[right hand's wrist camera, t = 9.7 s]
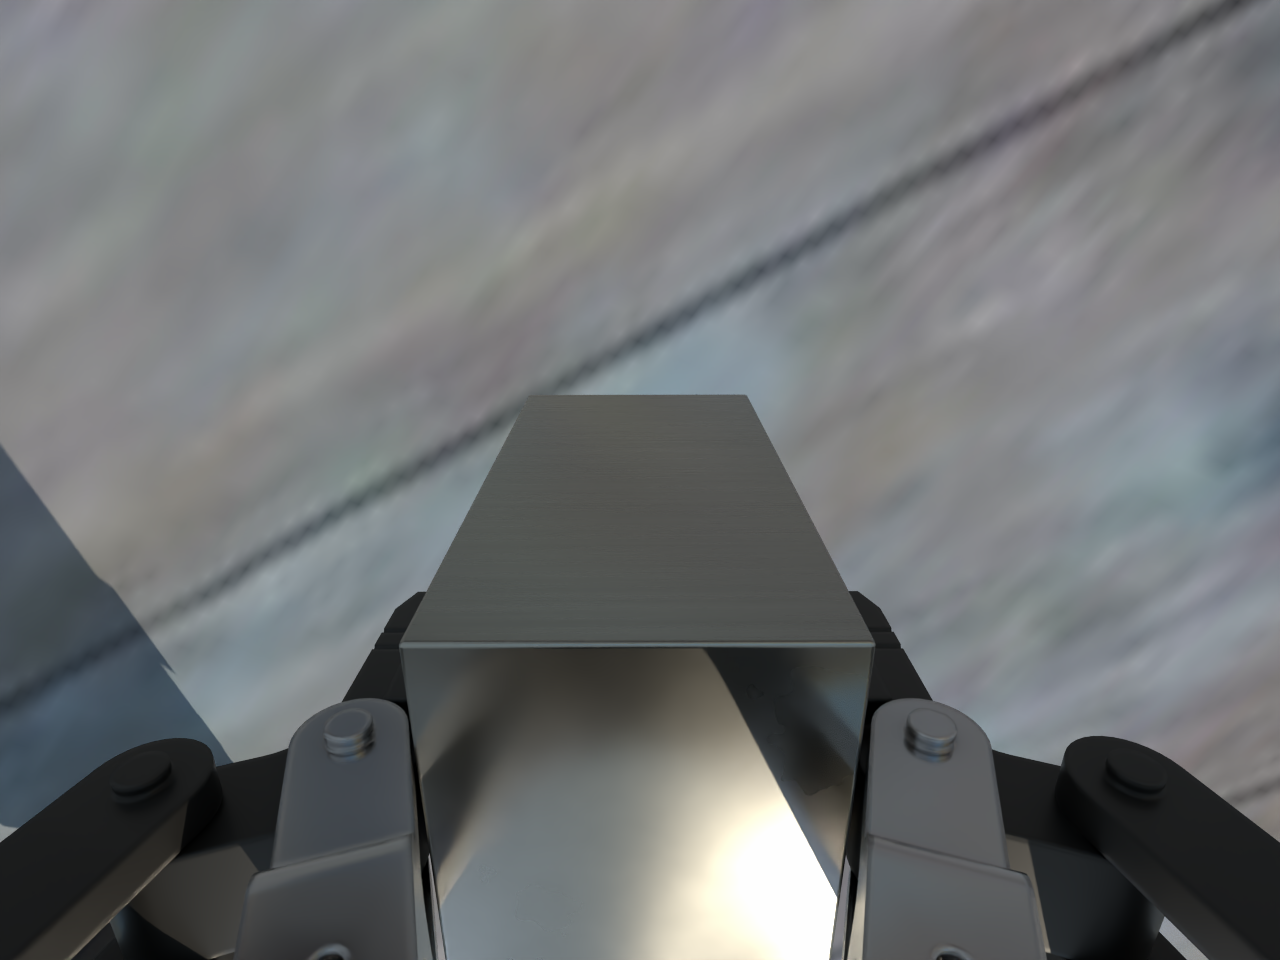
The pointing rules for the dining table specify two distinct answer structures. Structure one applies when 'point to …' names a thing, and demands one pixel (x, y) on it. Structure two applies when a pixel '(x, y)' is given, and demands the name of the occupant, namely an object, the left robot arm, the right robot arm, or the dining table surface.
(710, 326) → the dining table surface
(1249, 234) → the dining table surface
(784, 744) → the bar
